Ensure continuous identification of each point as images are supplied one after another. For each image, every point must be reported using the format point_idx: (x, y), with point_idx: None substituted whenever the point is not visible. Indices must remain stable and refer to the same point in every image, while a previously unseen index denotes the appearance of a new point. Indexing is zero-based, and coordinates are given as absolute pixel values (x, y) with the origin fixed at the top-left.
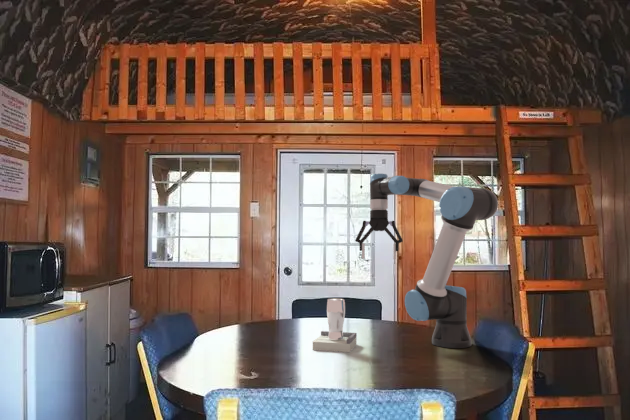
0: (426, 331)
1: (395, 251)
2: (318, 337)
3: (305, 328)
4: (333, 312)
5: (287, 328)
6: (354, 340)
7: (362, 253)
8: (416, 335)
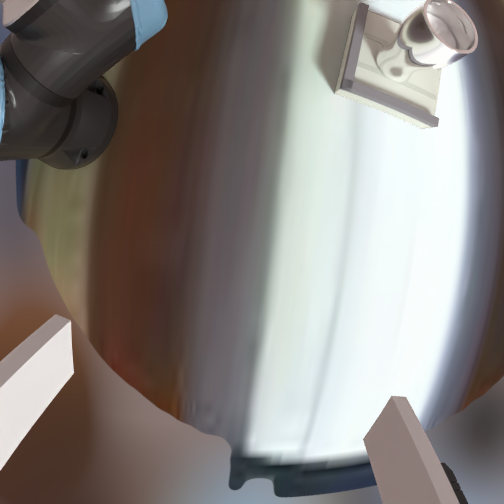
0: (109, 298)
1: (9, 368)
2: (437, 92)
3: (437, 326)
4: (435, 16)
5: (471, 320)
6: (344, 62)
7: (419, 432)
8: (138, 238)
